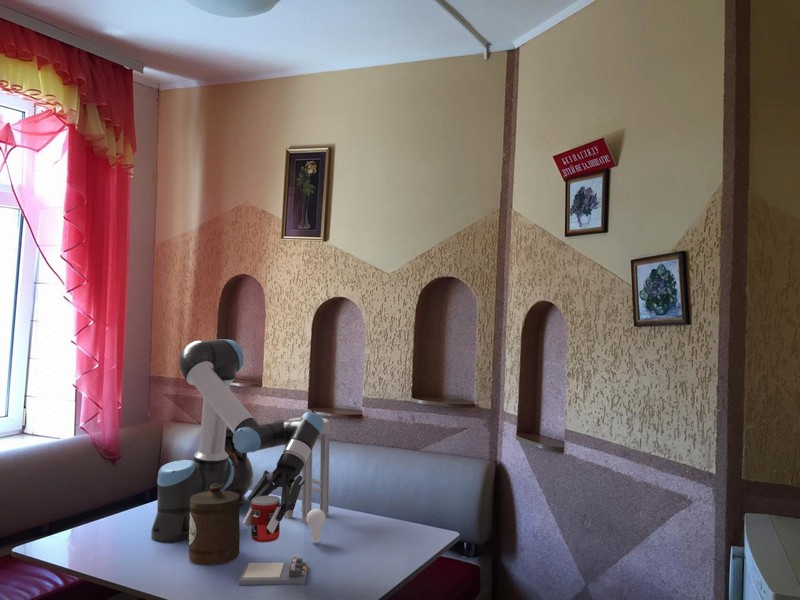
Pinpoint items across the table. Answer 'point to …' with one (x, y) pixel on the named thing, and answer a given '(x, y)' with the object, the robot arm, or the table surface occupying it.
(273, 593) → the table surface
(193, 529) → the wooden container
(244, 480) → the amphora vase
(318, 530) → the lightbulb
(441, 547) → the table surface
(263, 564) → the breaker board
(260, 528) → the canned food
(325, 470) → the stool
